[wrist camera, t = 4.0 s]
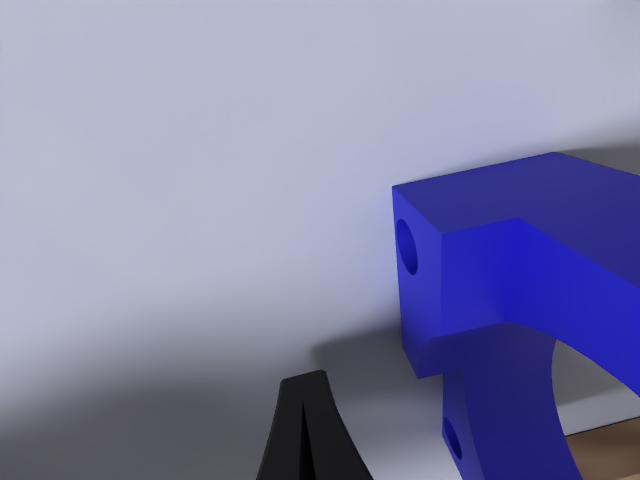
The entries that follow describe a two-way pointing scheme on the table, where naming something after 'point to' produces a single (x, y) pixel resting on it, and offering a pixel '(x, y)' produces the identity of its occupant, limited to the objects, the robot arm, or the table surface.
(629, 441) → the frame
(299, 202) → the table surface
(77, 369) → the table surface
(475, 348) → the blue curved bracket
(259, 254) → the table surface
